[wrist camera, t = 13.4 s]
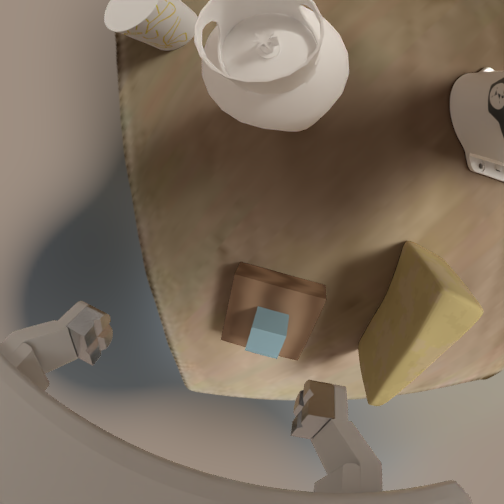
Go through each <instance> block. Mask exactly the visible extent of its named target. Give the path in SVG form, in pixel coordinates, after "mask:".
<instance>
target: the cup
mask: <svg viewBox="0 0 504 504" xmlns="http://www.w3.org/2000/svg"><path fill="white" fill-rule="evenodd" d="M197 19H198V17H197V15H196V14H195V13H194V12H193V11H192V10H191V9H190V8H189V7H188V6H186V5H185V4H184V3H183V2H182V1H180V0H111V1H110V2H109V4H108V6H107V8H106V11H105V15H104V21H105V25H106V26H107V28H108V29H110V30H112V31H114V32H117V33H120V34H123V35H125V36H128V37H131V38H133V39H136V40H139V41H141V42H144V43H146V44H148V45H151V46H153V47H156V48H158V49H160V50H165V51H169V50H175V49H178V48H180V47H182V46H183V45H185V44H186V43H188V42H189V41H190V40H191V39H192V38H193V36H194V35H195V24H196V22H197Z"/></svg>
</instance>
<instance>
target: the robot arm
mask: <svg viewBox="0 0 504 504" xmlns="http://www.w3.org/2000/svg"><path fill="white" fill-rule="evenodd" d="M450 114H451V119H452V123H453V127H454V130H455V132H456V134H457V137H458V139H459V140H460V142H461V144H462V146H463V148H464V150H465V154H466V160H467V164H468V167H469V169H470V170H471V171H473V172H476V173H479V174H482V175H485V176H488V177H491V178H494V179H497V180H500V181H502V182H504V71H494V70H493V69H492V68H490V67H485V68H483V69H482V70H481V71H479V72H478V73H467V74H464V75H462V76H461V77H459V78H458V79H457V80H456V82H455V83H454V85H453V88H452V91H451V95H450ZM479 164H480V168H479ZM109 322H111V320H110V315H108V314H106V313H105V312H103V311H101V310H99V309H96V308H95V307H93V306H91V305H89V304H87V303H85V302H83V301H79V302H77V303H76V304H75V305H74V306H73V307H72V308H71V309H70V310H68V312H66V313H65V314H64V315H63V316H62V317H61V318H60V319H59V320H58V321H56V320H53V321H49V322H46V323H42V324H39V325H35V326H31V327H27V328H24V329H20V330H16V331H13V332H12V333H11V334H10V335H9V336H8V337H7V338H6V339H5V340H4V341H3V342H2V343H1V344H0V504H472V500H471V498H470V497H469V495H468V494H467V493H466V492H465V490H464V489H463V488H462V487H461V486H460V485H459V484H458V483H457V482H456V481H452V480H450V481H444V482H440V483H435V484H431V485H426V486H420V487H414V488H408V489H400V490H391V491H382V468H381V462H380V460H379V459H378V458H377V456H376V455H375V454H374V452H373V451H372V449H371V448H370V446H369V445H368V444H367V442H366V441H365V440H364V438H363V437H362V435H361V434H360V433H359V431H358V430H357V428H356V427H355V426H354V424H353V423H352V421H348V407H347V391H346V387H345V386H340V385H334V384H330V383H324V382H318V381H313V380H307V381H306V383H305V384H304V390H302V391H300V392H299V394H298V396H297V398H296V401H295V405H294V414H295V416H296V417H295V419H294V420H293V421H292V429H291V436H295V437H301V438H306V439H311V442H312V444H313V446H314V448H315V450H316V452H317V454H318V456H319V458H320V460H321V462H322V464H323V466H324V468H325V470H326V472H327V474H328V475H327V476H325V477H324V478H322V479H320V480H319V481H317V482H315V485H314V492H307V491H296V490H287V489H280V488H272V487H266V486H260V485H255V484H250V483H245V482H240V481H236V480H232V479H227V478H223V477H219V476H216V475H212V474H208V473H205V472H202V471H199V470H196V469H193V468H190V467H187V466H184V465H181V464H178V463H175V462H173V461H170V460H167V459H165V458H162V457H160V456H157V455H154V454H152V453H150V452H148V451H145V450H143V449H141V448H139V447H137V446H134V445H132V444H130V443H128V442H126V441H124V440H122V439H120V438H118V437H116V436H114V435H112V434H111V433H109V432H107V431H105V430H103V429H101V428H100V427H98V426H96V425H94V424H93V423H91V422H89V421H88V420H86V419H85V418H83V417H81V416H80V415H78V414H77V413H75V412H73V411H72V410H70V409H69V408H68V407H66V406H65V405H63V404H62V403H60V402H59V401H57V400H56V399H54V398H53V397H52V396H51V395H49V394H48V393H47V392H45V390H46V389H47V387H48V386H49V381H48V379H47V377H46V375H45V373H47V372H50V371H52V370H54V369H56V368H58V367H60V366H63V365H65V364H67V363H69V362H71V361H74V360H76V359H77V358H80V359H81V360H84V361H85V362H87V363H89V364H91V365H94V364H95V362H96V361H97V360H98V358H99V357H100V356H101V350H104V349H106V348H107V347H108V346H109V344H110V342H111V340H112V336H113V331H112V328H111V327H110V325H109Z"/></svg>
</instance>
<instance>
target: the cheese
mask: <svg viewBox="0 0 504 504" xmlns="http://www.w3.org/2000/svg"><path fill="white" fill-rule="evenodd" d="M482 314H483V309H482V307H481V306H480V304H479V303H478V301H477V300H476V299H475V297H474V296H473V295H472V293H471V292H470V291H469V289H468V288H467V287H466V285H465V284H464V283H463V282H462V280H461V279H460V278H459V277H458V276H457V274H456V273H455V272H454V271H453V270H452V269H451V267H450V266H449V265H448V264H447V263H446V262H445V261H444V260H443V259H442V258H441V257H439V256H437V255H436V254H434V253H432V252H431V251H429V250H427V249H425V248H423V247H422V246H420V245H418V244H416V243H414V242H411V241H407V242H405V244H404V246H403V249H402V252H401V255H400V258H399V262H398V265H397V268H396V270H395V273H394V276H393V279H392V281H391V284H390V287H389V289H388V291H387V294H386V296H385V298H384V300H383V302H382V304H381V305H380V307H379V309H378V310H377V312H376V314H375V315H374V317H373V318H372V320H371V322H370V324H369V325H368V327H367V329H366V331H365V333H364V334H363V336H362V338H361V340H360V342H359V344H358V351H359V360H360V368H361V373H362V378H363V382H364V387H365V391H366V396H367V401H368V403H369V404H370V405H374V406H380V405H383V404H384V403H386V402H388V401H389V400H390V399H391V398H393V397H394V396H395V395H397V394H398V393H399V392H400V391H401V390H402V389H404V388H405V387H406V386H407V385H408V384H409V383H411V382H412V381H413V380H414V379H415V378H416V377H417V376H419V375H420V374H421V373H422V372H423V371H424V370H425V369H426V368H427V367H429V366H430V365H431V364H432V363H433V362H434V361H435V360H436V359H437V358H438V357H439V356H441V355H442V354H443V353H444V352H445V351H446V350H447V349H448V348H449V347H451V346H452V345H453V344H454V343H455V342H456V341H457V340H458V339H459V338H461V337H462V336H463V335H464V334H465V333H466V332H467V331H468V330H469V329H470V328H471V327H472V326H473V325H474V324H475V323H476V322H477V321H478V319H479V318H480V317H481V316H482Z"/></svg>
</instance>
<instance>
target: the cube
mask: <svg viewBox="0 0 504 504" xmlns="http://www.w3.org/2000/svg"><path fill="white" fill-rule="evenodd" d="M288 320H289V315H288V314H284V313H280V312H277V311H273V310H269V309H266V308H262V307H259V306H258V308H257V311H256V314H255V318H254V321H253V325H252V328H251V331H250V335H249V338H248V342H247V345H246V348H245V350H246V351H250V352H253V353H257V354H260V355H264V356H268V357H272V358H276V359H277V357H278V355H279V353H280V350H281V348H282V346H283V343H284V341H285V339H286V336H287V328H288Z"/></svg>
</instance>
